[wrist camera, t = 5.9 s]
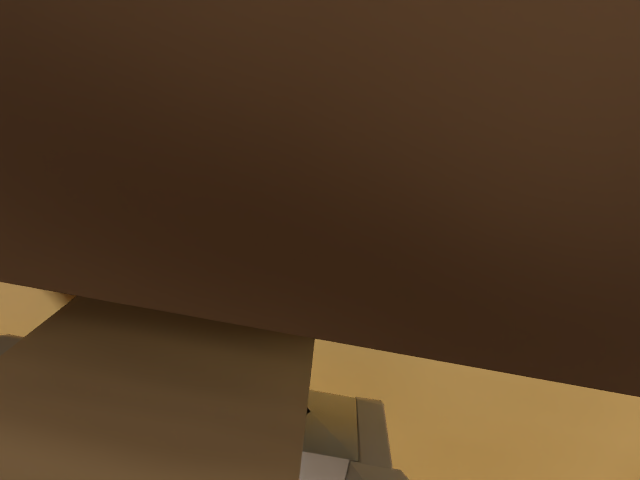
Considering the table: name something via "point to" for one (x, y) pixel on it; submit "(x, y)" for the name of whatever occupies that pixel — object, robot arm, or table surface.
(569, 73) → the lid
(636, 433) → the table surface
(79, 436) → the beige block
